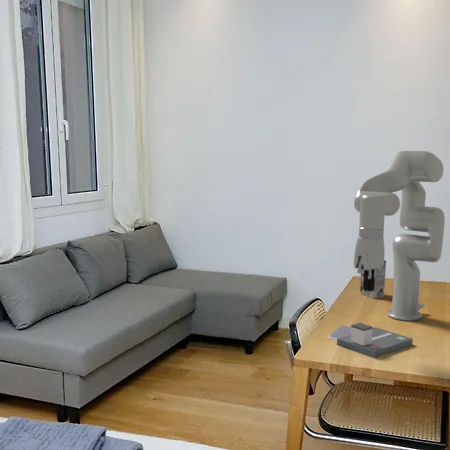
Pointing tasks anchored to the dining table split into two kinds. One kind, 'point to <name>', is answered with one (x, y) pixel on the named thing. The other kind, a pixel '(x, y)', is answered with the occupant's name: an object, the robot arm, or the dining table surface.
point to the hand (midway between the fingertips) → (368, 290)
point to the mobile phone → (341, 332)
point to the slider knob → (361, 334)
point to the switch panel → (377, 343)
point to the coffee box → (376, 284)
